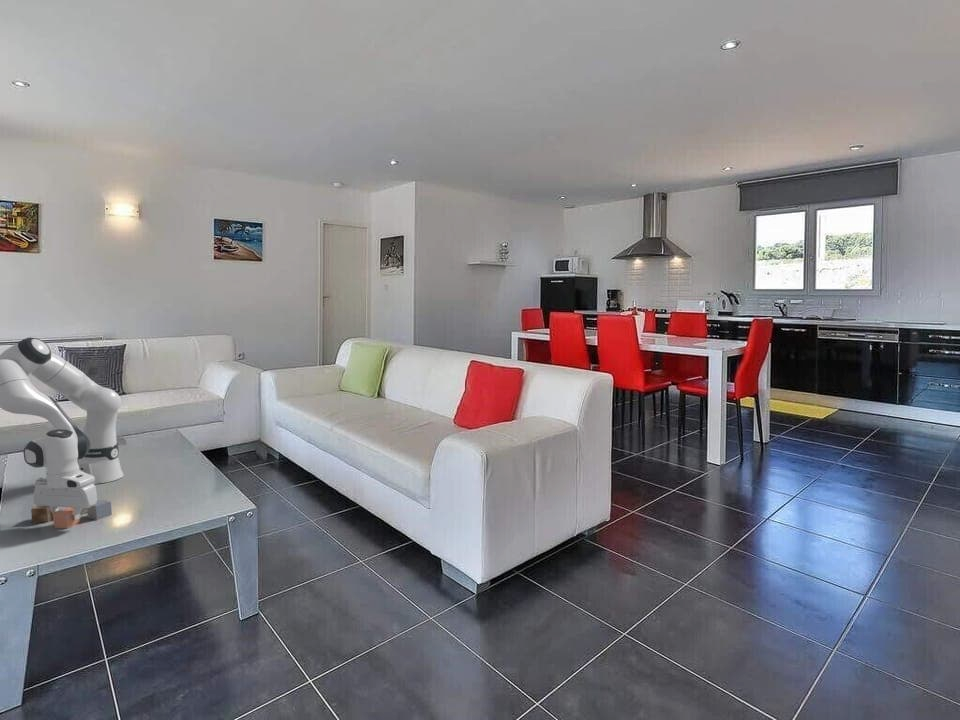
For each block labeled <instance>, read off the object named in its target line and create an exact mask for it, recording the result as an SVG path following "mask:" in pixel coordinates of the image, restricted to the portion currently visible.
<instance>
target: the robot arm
mask: <svg viewBox="0 0 960 720" xmlns="http://www.w3.org/2000/svg"><path fill="white" fill-rule="evenodd" d="M30 375H31V376H33V377H34V378H36V379H37V380H39V382H42V384H44V385H46V386H47V387H49V388H50V389H52V390H53V391H56V392H57V393H58V394H60V395H61V396H63V397H64V398H66V399H67V400H68V401H70V402H71V403H73V404H74V405H76V406H77V407H78V408H80V409H82V410H83V411H85V412H86V419H85V420H86V421H85V425H84V426H83V429H82V430H83V431H82V430H81V429H80V428H79V427H77V425H76V424H75V423H74V422H73V421H72V419H71V418H70V417H69V415H68V414H67V412H65V410H63V408H62V407H61V406H60V405H59V404H58V402H57V401H56V400H55V399H54V398H53V397H51V396H49V395H46V394H45V393H43V392H41V391H40V390H39V389H37V388H36V387H35V386H34V385H33V383H32V381H31V379H30V378H29V376H30ZM121 406H122V399H121V396H120V395H119V394H118V393H117V392H116V391H115V390H114V389H111V388H108V387H105V386H101V385H100V384H97V382H95V381H93V380H92V379H91V378H90V377H88V375H86V374H85V372H83V371H82V370H80V369H79V368H78V367H76V366H74V365H73V364H72V363H70V362H69V361H67V360H66V359H64V358H63V357H61V356H59V355H58V354H56V353H54V352H52V350H51V348H50V347H49V345H48V344H47V343H46V342H44V340H42V339H40V338H36V337H32V336H31V337H26V338H24V339H22V340H19V341H18V342H17V343H15V344H13V345H12V346H10V347H8V348H7V349H5V350H4V351H2V353H0V408H1V409H2V410H3V411H6V413H7V412H8V413H11V414H16V415H26V416H27V415H29V416H36V417H40V418H42V419H45V420H46V421H48V422H49V423H50V425H51V426H52V427H53V428H54V429H53V430H49V431H47V432H46V433H45V434H44V436H41V437H39V438H36V439H33V440H30V441H29V442H27V444H26V445H25V447H24V448H23V458H24V462H25V463H26V465H28V466H30V467H33V468H37V469H38V468H46V471H45V477H39V478H38V479H36V480H35V481H34V489H33V503H34V505H35V506H49V508H50V510H51V512H52V513H54V512H56V511H59V510H60V509H59V508H65V507H68V508H71V507H72V508H73V510H75V512H74V514H72V515H71V517H72V518H71V519H72V520H77V519H79V518H80V519H81V514H79V513H80V512H81V510H82V508H90V507H92V506H94V505H95V504H96V503H97V501H98V494H97V488H96V485H99V484H103V483H104V484H105V483H110V482H113V481H116V480H119V479H121V478H123V477H124V476H125V475H124V472H123V470H122V467H121V466H122V465H121V462H120V458H119V444H118V442H117V418H118V413H119V412H118V411H119V409H120V408H121ZM92 482H93V483H92Z"/></svg>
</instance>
